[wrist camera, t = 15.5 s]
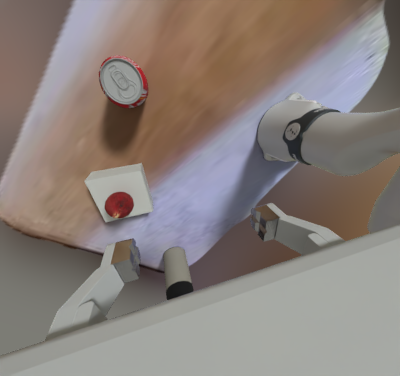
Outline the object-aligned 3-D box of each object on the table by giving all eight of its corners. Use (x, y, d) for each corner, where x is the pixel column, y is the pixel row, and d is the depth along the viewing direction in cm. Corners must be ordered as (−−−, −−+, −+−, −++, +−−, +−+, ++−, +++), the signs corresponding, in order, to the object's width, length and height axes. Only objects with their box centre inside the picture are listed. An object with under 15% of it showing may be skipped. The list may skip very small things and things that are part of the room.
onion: (117, 181, 37) (109, 199, 31) (139, 193, 40) (137, 212, 34) (104, 199, 39) (94, 221, 32) (126, 209, 42) (122, 231, 35)
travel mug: (158, 256, 59) (161, 311, 44) (173, 243, 58) (181, 294, 43) (174, 263, 63) (182, 316, 48) (189, 251, 62) (201, 301, 47)
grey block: (141, 163, 42) (140, 170, 38) (152, 201, 48) (153, 211, 44) (91, 172, 40) (84, 181, 36) (109, 210, 46) (105, 222, 42)
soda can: (129, 112, 36) (120, 118, 26) (103, 79, 32) (81, 70, 22) (155, 94, 36) (157, 92, 26) (132, 58, 32) (123, 39, 22)
